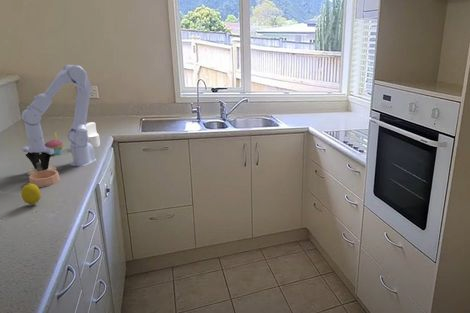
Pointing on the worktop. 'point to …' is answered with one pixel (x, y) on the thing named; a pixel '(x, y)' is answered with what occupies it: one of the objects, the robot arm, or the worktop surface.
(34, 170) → the lid
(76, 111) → the robot arm
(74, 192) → the worktop surface
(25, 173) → the mat
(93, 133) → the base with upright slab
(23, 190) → the lemon
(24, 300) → the worktop surface
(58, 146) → the cupcake
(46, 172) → the bowl
